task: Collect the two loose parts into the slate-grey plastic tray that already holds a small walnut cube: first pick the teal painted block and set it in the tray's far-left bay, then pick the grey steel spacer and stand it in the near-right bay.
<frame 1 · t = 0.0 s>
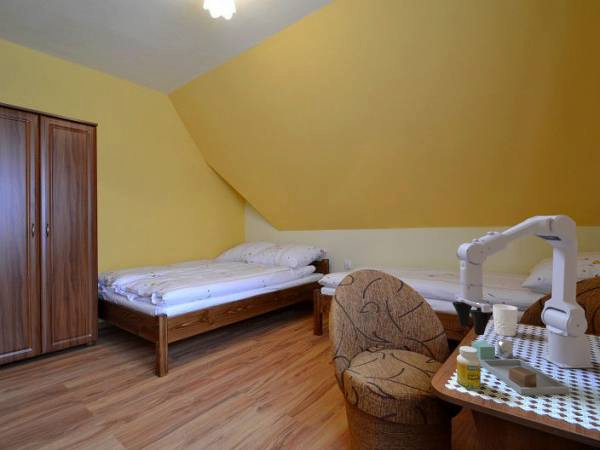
hand: (471, 330, 92), 10 cm above the table, tool pointing down, fingers open, 7 cm apart
teal block: (482, 358, 96), on the table
tray: (520, 380, 83), on the table
walnut cube: (522, 386, 78), point 1 cm above the table, touching tray
supplement bottle: (468, 387, 79), on the table
steel spacer: (505, 357, 96), on the table
white cup: (505, 333, 118), on the table
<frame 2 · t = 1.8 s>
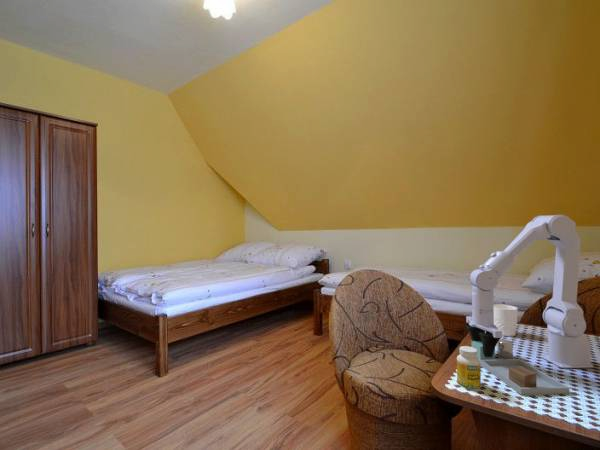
hand: (482, 353, 96), 2 cm above the table, tool pointing down, fingers closed on teal block, 4 cm apart
teal block: (482, 358, 96), on the table, touching gripper
everything else where it was.
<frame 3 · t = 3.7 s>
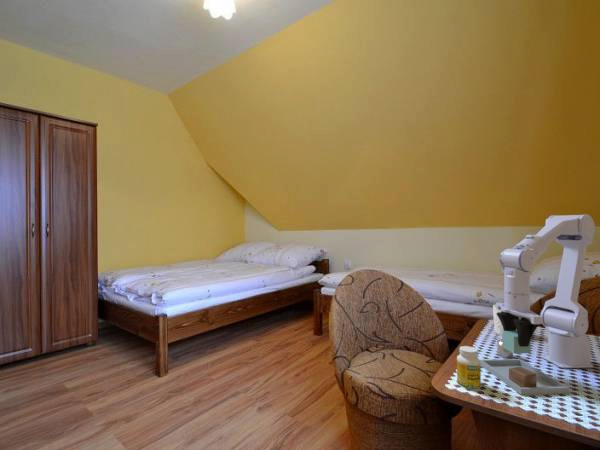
hand: (517, 342, 85), 9 cm above the table, tool pointing down, fingers closed on teal block, 4 cm apart
teal block: (516, 350, 85), point 7 cm above the table, touching gripper
everything else where it was.
when the fingers open (3 cm above the table, at t = 5.6 s): teal block stays where it is, resting on tray.
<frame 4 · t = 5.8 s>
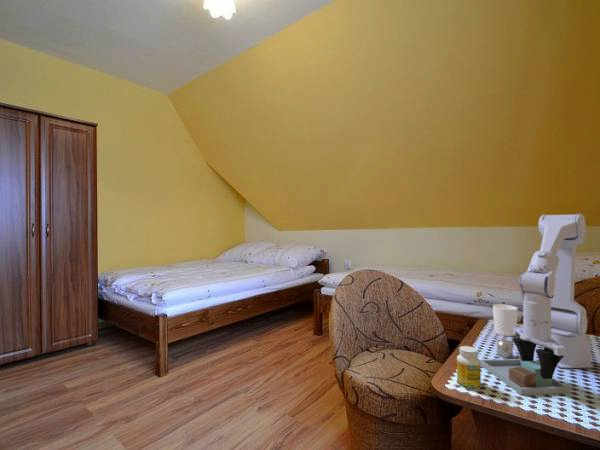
hand: (537, 372, 80), 3 cm above the table, tool pointing down, fingers open, 6 cm apart
teal block: (536, 382, 80), point 1 cm above the table, touching tray
everything else where it was.
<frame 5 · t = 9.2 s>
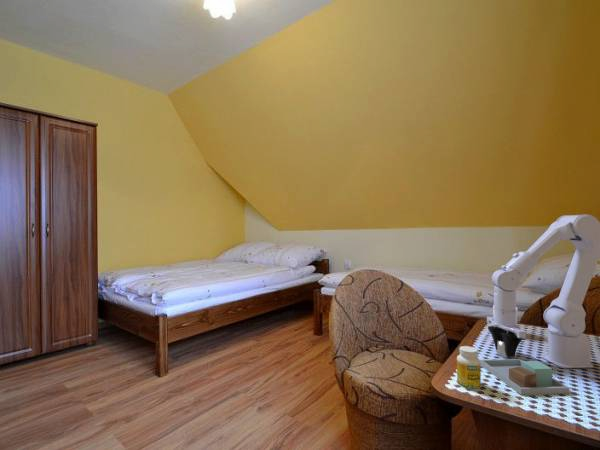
hand: (505, 353, 96), 1 cm above the table, tool pointing down, fingers closed on steel spacer, 4 cm apart
steel spacer: (505, 357, 96), on the table, touching gripper
everything else where it was.
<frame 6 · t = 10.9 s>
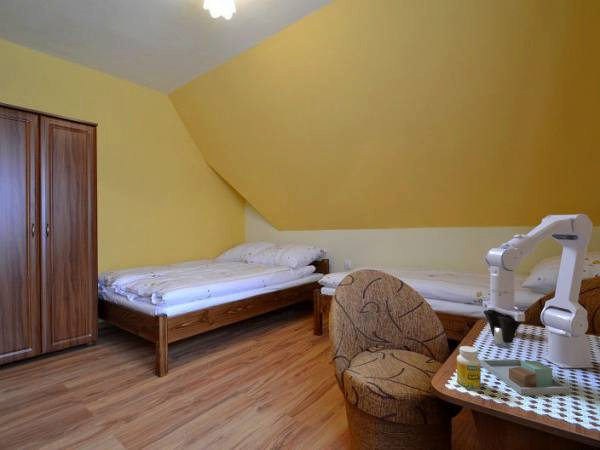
hand: (502, 339, 88), 9 cm above the table, tool pointing down, fingers closed on steel spacer, 4 cm apart
steel spacer: (502, 345, 88), point 7 cm above the table, touching gripper
everything else where it was.
when the fingers open (3 cm above the table, at t = 12.7 s): steel spacer stays where it is, resting on tray.
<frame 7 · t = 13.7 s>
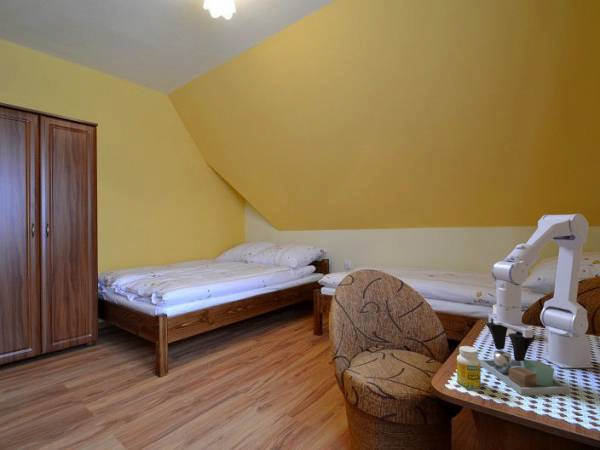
hand: (509, 354, 86), 5 cm above the table, tool pointing down, fingers open, 7 cm apart
teal block: (536, 381, 80), point 1 cm above the table, tilted 7°, touching gripper, tray
steel spacer: (502, 371, 86), point 1 cm above the table, touching tray
everything else where it was.
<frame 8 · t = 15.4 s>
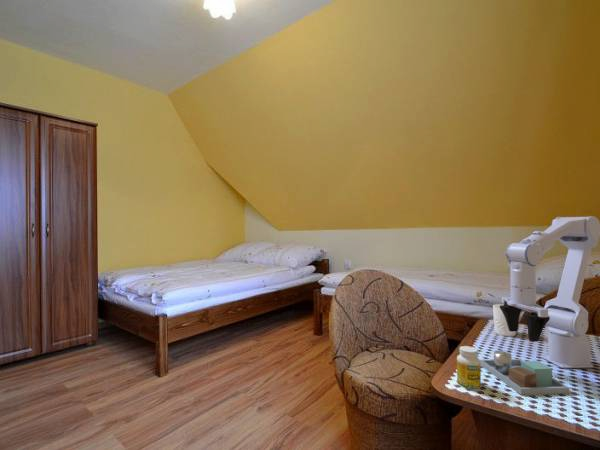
hand: (523, 335, 86), 10 cm above the table, tool pointing down, fingers open, 7 cm apart
teal block: (536, 382, 80), point 1 cm above the table, touching tray
everything else where it was.
at the end: steel spacer inside the target area on the tray (4.2 cm from its centre), point 0.6 cm above the tray's base; steel spacer tilted 0°; teal block inside the target area on the tray (3.4 cm from its centre), point 0.6 cm above the tray's base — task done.
